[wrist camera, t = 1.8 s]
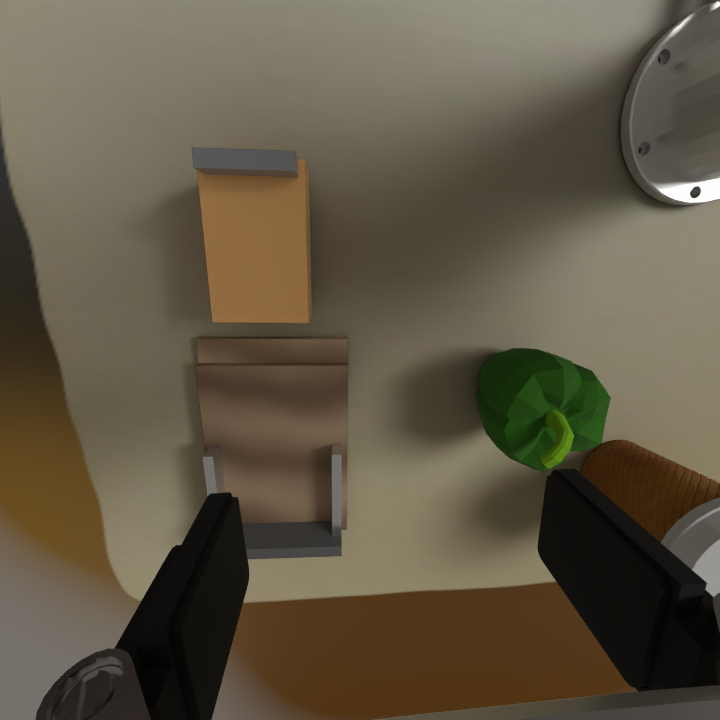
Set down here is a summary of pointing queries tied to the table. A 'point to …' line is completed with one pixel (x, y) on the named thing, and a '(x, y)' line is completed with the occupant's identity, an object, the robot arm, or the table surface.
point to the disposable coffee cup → (663, 502)
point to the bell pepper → (540, 406)
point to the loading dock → (278, 438)
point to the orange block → (256, 234)
